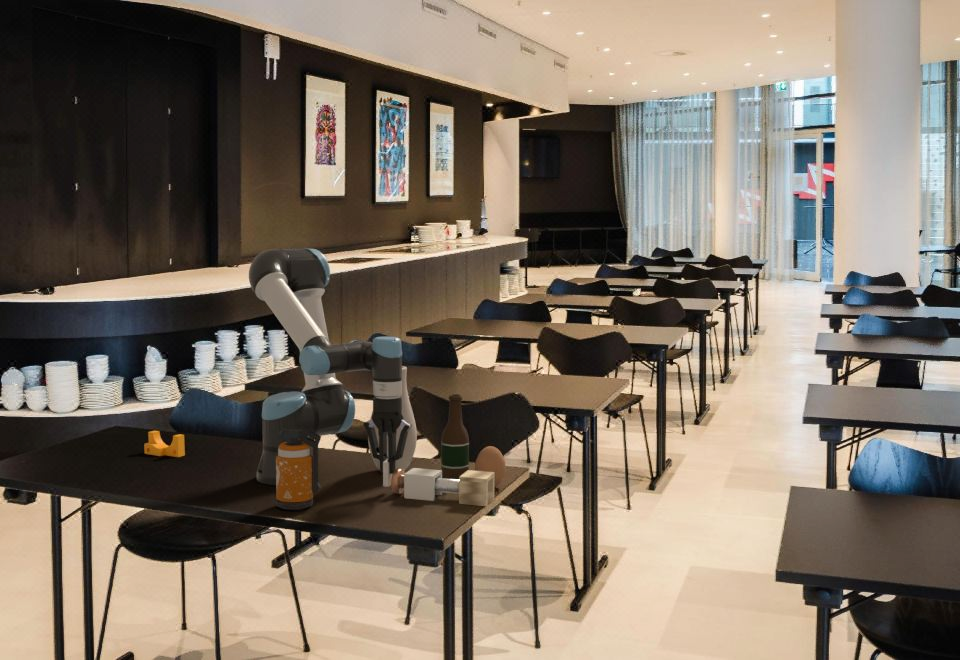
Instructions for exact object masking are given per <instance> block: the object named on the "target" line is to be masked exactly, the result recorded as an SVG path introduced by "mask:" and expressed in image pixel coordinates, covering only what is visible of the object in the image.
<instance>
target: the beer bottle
mask: <svg viewBox="0 0 960 660" xmlns="http://www.w3.org/2000/svg"><path fill="white" fill-rule="evenodd" d="M448 400H449V404H448V405H449V407H448V408H449V409H448V419H447V420H448V421H447V424H446V426H445V427H444V428H443V431H442V433H441V440H440V441H441V445H440V447H441V449H440V450H441V452H440V453H441V454H440V458H441V459H440V463H441V464H440V470H442V478H447V479H458V480H459V477H460V476H461V475H462V474H463V473H465V472H466V471H467V470H470V438H469V433H468V430H467V428H466V427H465V426H464V423H463V409H462V400H463V398H462V395H461V394H459V393H458V394H457V393H454V394H452V393H451V394H449V396H448Z"/></svg>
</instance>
